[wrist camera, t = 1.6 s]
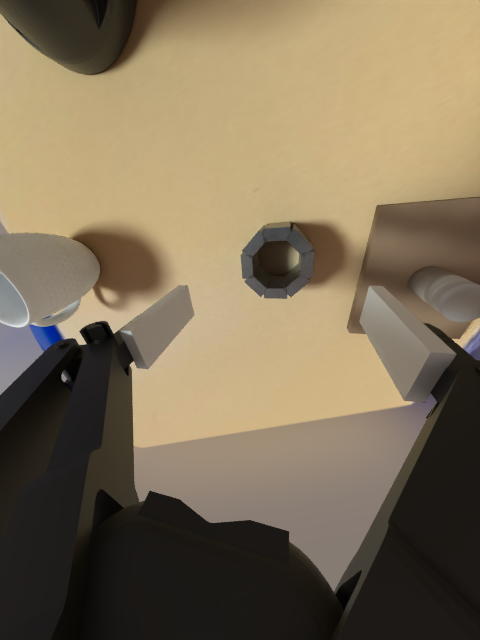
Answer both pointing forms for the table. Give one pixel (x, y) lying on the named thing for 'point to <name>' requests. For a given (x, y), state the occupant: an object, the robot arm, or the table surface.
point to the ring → (278, 283)
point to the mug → (43, 278)
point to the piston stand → (425, 262)
